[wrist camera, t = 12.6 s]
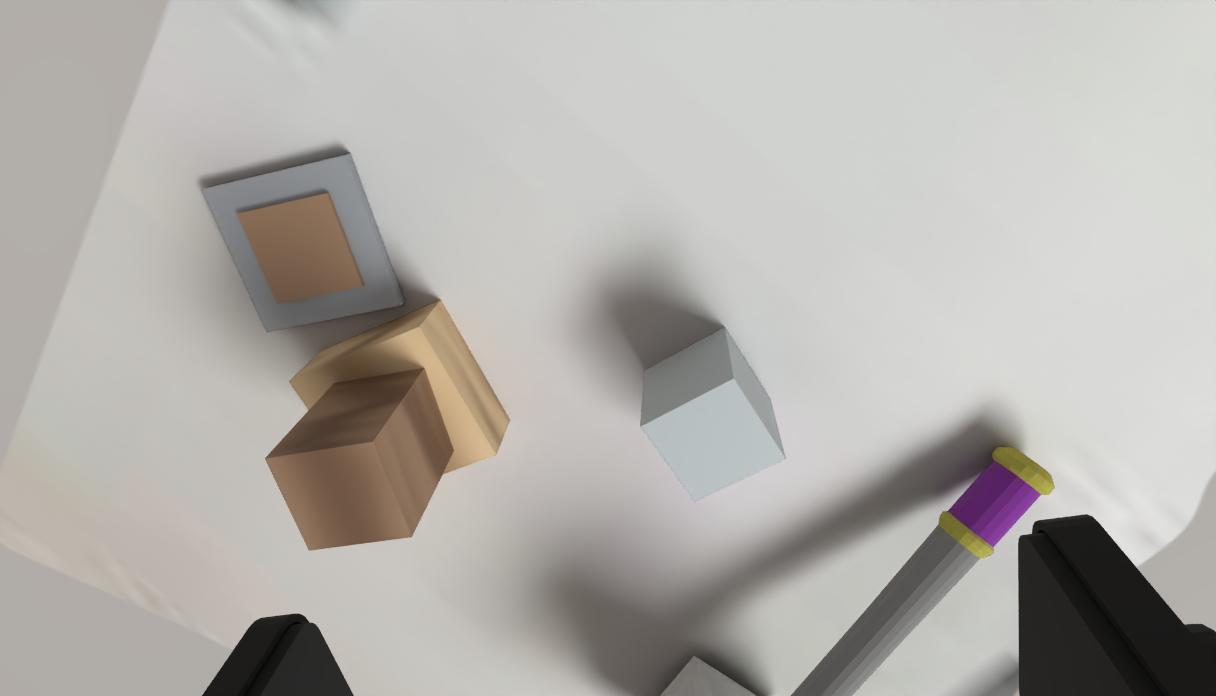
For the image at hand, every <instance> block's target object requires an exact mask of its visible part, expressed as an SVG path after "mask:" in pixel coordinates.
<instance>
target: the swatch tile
mask: <svg viewBox="0 0 1216 696" xmlns="http://www.w3.org/2000/svg"><path fill="white" fill-rule="evenodd" d="M202 193H203V195H204V197H205V199H206V201H207V203H208V206H209V208H210V210H211V212H212V214H213V217H214V219H215V221H216V223H217V225H218V228H219V230H220V232H221V234H222V236H223V238H224V241H225V243H226V245H227V247H228V249H229V252H230V254H231V256H232V258H233V260H234V263H235V265H236V267H237V269H238V271H239V273H240V276H241V278H242V280H243V282H244V284H245V287H246V289H247V291H248V293H249V295H250V298H251V300H252V302H253V304H254V306H255V308H256V311H257V313H258V315H259V317H260V319H261V322H262V324H263V326H264V328H265V330H266V332H270V331H275V330H280V329H285V328H290V327H295V326H300V325H306V324H311V323H316V322H321V321H326V320H331V319H336V318H341V317H346V316H351V315H356V314H361V313H366V312H371V311H376V310H381V309H386V308H391V307H396V306H401V305H402V304H403V303H404V302H405V301H404V298H403V295H402V293H401V290H400V287H399V284H398V282H397V279H396V276H395V274H394V271H393V268H392V265H391V263H390V260H389V257H388V255H387V252H386V249H385V246H384V244H383V241H382V238H381V235H380V233H379V230H378V227H377V225H376V222H375V219H374V216H373V214H372V211H371V208H370V205H369V203H368V200H367V197H366V195H365V192H364V189H363V186H362V184H361V181H360V178H359V176H358V173H357V170H356V167H355V165H354V162H353V159H352V156H351V154H350V153H349V154H345V155H340V156H336V157H332V158H328V159H324V160H320V161H315V162H311V163H307V164H303V165H299V166H295V167H290V168H286V169H282V170H278V171H274V172H270V173H265V174H261V175H257V176H253V177H249V178H244V179H240V180H236V181H232V182H228V183H224V184H219V185H215V186H211V187H207V188H205V189H202Z"/></svg>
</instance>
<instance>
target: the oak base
mask: <svg viewBox="0 0 1216 696" xmlns="http://www.w3.org/2000/svg"><path fill="white" fill-rule="evenodd" d="M420 368H425V370H426V373H427V376H428V379H429V382H430V384H431V387H432V390H433V393H434V396H435V398H436V401H437V404H438V407H439V410H440V412H441V415H442V418H443V421H444V424H445V426H446V429H447V432H448V435H449V438H450V441H451V443H452V446H453V449H454V452H453V454H452V456H451V458H450V460H449V462H448V464H447V466H446V468H445V470H444V473H443V474H445V473H447V472H450V471H453V470H456V469H458V468H461V467H464V466H467V465H470V464H472V463H475V462H478V461H481V460H483V459H486V458H489V457H492V456H495V455H496V454H497V452H498V449H499V447H500V444H501V442H502V439H503V437H504V434H505V431H506V429H507V426H508V424H509V421H510V419H509V417H508V416H507V414H506V412H505V410H504V409H503V407H502V405H501V403H500V402H499V400H498V398H497V396H496V395H495V393H494V391H493V390H492V388H491V386H490V384H489V383H488V381H487V379H486V377H485V376H484V374H483V372H482V370H481V369H480V367H479V365H478V363H477V362H476V360H475V358H474V357H473V355H472V353H471V351H470V350H469V348H468V346H467V344H466V343H465V341H464V339H463V337H462V336H461V334H460V332H459V331H458V329H457V327H456V325H455V324H454V322H453V320H452V318H451V317H450V315H449V313H448V311H447V310H446V308H445V306H444V304H443V303H442V301H441V300H439V301H437V302H435V303H432V304H430V305H428V306H425V307H423V308H421V309H418V310H416V311H414V312H411V313H409V314H407V315H404V316H402V317H400V318H397V319H395V320H393V321H390V322H388V323H386V324H383V325H381V326H379V327H376V328H374V329H372V330H369V331H367V332H365V333H362V334H360V335H358V336H355V337H353V338H351V339H348V340H346V341H344V342H341V343H339V344H337V345H334V346H332V347H330V348H327V349H325V350H323V351H320V352H319V353H318V354H317V355H316V356H315V357H314V358H313V359H312V360H311V361H310V362H309V363H308V364H307V365H306V366H305V367H304V368H303V369H301V370H300V371H299V372H298V373H297V374H296V375H295V376H294V377H293V378H292V379H291V380H290V381H289V383H290V384H291V385H292V387H293V388H294V390H295V391H296V393H297V394H298V395H299V397H300V398H301V400H302V401H303V403H304V404H305V406H306V407H307V408H308V410H310V409H311V408H312V406H313V405H314V404H315V403H316V402H317V401H318V400H319V399H320V398H321V397H322V396H323V394H324V393H325V392H326V391H327V390H328V389H329V388H330V387H331V386H332V385H333V383H337V382H343V381H349V380H355V379H361V378H367V377H373V376H379V375H385V374H390V373H396V372H402V371H408V370H414V369H420Z"/></svg>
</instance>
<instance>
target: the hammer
mask: <svg viewBox="0 0 1216 696" xmlns="http://www.w3.org/2000/svg"><path fill="white" fill-rule="evenodd" d="M992 457H993V461H992V462H991V463H990V464H989V465H988V466H987V468H986V469H985V470H984V471H983V472H982V473H981V474H980V476H979V477H978V478H977V479H976V480H975V481H974V482H973V483H972V485H971V486H970V487H969V488H968V489H967V490H966V491H965V492H964V494H963V495H962V496H961V497H960V498H959V499H958V500H957V501H956V503H955V504H954V505H953V506H952V507H951V508H950V509H949V510H948V511H944V512H942V514H941V515H940V518H939V525H938V526H937V527H936V528H935V530H934V531H933V532H932V533H931V534H930V535H929V537H928V538H927V539H926V540H925V541H924V542H923V544H922V545H921V546H920V547H919V548H918V549H917V551H916V552H915V553H914V554H913V555H912V556H911V558H910V559H909V560H908V561H907V562H906V564H905V565H904V566H903V567H902V568H901V569H900V571H899V572H898V573H897V574H896V575H895V576H894V578H893V579H892V580H891V581H890V582H889V583H888V585H887V586H886V587H885V588H884V589H883V591H882V592H881V593H880V594H879V595H878V596H877V598H876V599H875V600H874V601H873V602H872V603H871V605H870V606H869V607H868V608H867V609H866V610H865V612H864V613H863V614H862V615H861V616H860V617H859V618H858V620H857V621H856V622H855V623H854V624H853V625H852V626H851V628H850V629H849V630H848V631H847V632H846V633H845V634H844V636H843V637H842V638H841V639H840V640H839V641H838V642H837V644H836V645H835V646H834V647H833V648H832V649H831V650H830V652H829V653H828V654H827V655H826V656H825V657H824V658H823V660H822V661H821V662H820V663H819V664H818V665H817V666H816V668H815V669H814V670H813V671H812V672H811V673H810V674H809V676H808V677H807V678H806V679H805V680H804V681H803V682H802V684H801V685H800V686H799V687H798V688H797V689H796V690H795V692H794V693H793V694H792V695H791V696H852V695H853V694H854V693H855V692H856V691H857V690H858V689H859V688H860V686H861V685H862V684H863V683H864V682H865V681H866V680H867V679H868V678H869V677H870V676H871V674H872V673H873V672H874V671H875V670H876V669H877V668H878V667H879V666H880V665H881V664H882V662H883V661H884V660H885V659H886V658H887V657H888V656H889V655H890V654H891V653H892V652H893V650H894V649H895V648H896V647H897V646H898V645H899V644H900V643H901V642H902V641H903V640H904V639H905V638H906V637H907V635H908V634H909V633H910V632H911V631H912V630H913V629H914V628H915V627H916V626H917V625H918V624H919V623H920V622H921V621H922V620H923V619H924V617H925V616H926V615H927V614H928V613H929V612H930V611H931V610H932V609H933V608H934V607H935V606H936V605H937V604H938V603H939V602H940V601H941V599H942V598H943V597H944V596H945V595H946V594H947V593H948V592H949V591H950V590H951V589H952V588H953V587H954V586H955V585H956V584H957V582H958V581H959V580H960V579H961V578H962V577H963V576H964V575H965V574H966V573H967V572H968V571H969V570H970V569H971V568H972V567H973V566H974V564H975V563H976V562H977V561H978V560H979V559H980V558H984V557H987V556H990V555H991V554H992V553H993V552H994V549H993V547H994V546H995V545H996V544H997V543H998V541H999V540H1000V539H1001V538H1002V537H1003V536H1004V535H1005V534H1006V533H1007V532H1008V530H1009V529H1010V528H1011V527H1012V526H1013V525H1014V524H1015V523H1016V522H1017V521H1018V519H1019V518H1020V517H1021V516H1022V515H1023V514H1024V513H1025V512H1026V511H1027V510H1028V508H1029V507H1030V506H1031V505H1032V504H1033V503H1034V502H1035V501H1036V500H1037V498H1038V497H1039V496H1040V495H1049V494H1050V493H1051V492H1052V490H1053V489H1054V488H1055V487H1054V483H1053V480H1052V476H1051V475H1050V474H1049V473H1048V472H1047V471H1046V470H1045V469H1043V468H1042V467H1041V466H1040V465H1038V464H1037V463H1035V462H1034V461H1033V460H1031V459H1030V458H1028V457H1027V456H1026V455H1024V454H1022V453H1021V452H1019V451H1018V450H1016V449H1014V448H1012V447H997V448H996V449H995V451H994V452H993V453H992ZM660 696H756V695H755V694H753V693H752V692H750V691H749V690H747V689H745V688H744V687H742V686H741V685H739V684H738V683H736V682H734V681H733V680H731V679H730V678H728V677H727V676H725V675H724V674H722V673H720V672H719V671H717V670H716V669H714V668H713V667H711V666H709V665H708V664H706V663H705V662H703V661H702V660H700V659H698V658H697V657H695V656H693V658H692V659H691V660H690V661H689V662H688V663H687V665H686V666H685V667H684V668H683V669H682V670H681V672H680V673H679V674H678V675H677V676H676V677H675V679H674V680H673V681H672V682H671V683H670V684H669V686H668V687H667V688H666V689H665V690H664V692H663V693H662V694H661V695H660Z"/></svg>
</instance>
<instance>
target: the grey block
mask: <svg viewBox="0 0 1216 696" xmlns="http://www.w3.org/2000/svg"><path fill="white" fill-rule="evenodd" d="M640 427H641V429H642V430H643V431H644V433H645V434H646V436H647V437H648V438H649V440H650V441H651V443H652V444H653V445H654V447H655V448H656V450H657V451H658V452H659V454H660V455H661V457H662V458H663V459H664V461H665V462H666V464H667V465H668V466H669V468H670V469H671V471H672V472H673V473H674V475H675V476H676V478H677V479H678V480H679V482H680V483H681V484H682V486H683V487H684V489H685V490H686V491H687V493H688V494H689V496H690V497H691V498H692V500H693V501H694V502H696V501H698V500H700V499H702V498H704V497H706V496H708V495H711V494H713V493H715V492H717V491H719V490H721V489H723V488H725V487H728V486H730V485H732V484H734V483H736V482H738V481H740V480H742V479H745V478H747V477H749V476H751V475H753V474H755V473H757V472H759V471H762V470H764V469H766V468H768V467H770V466H772V465H774V464H776V463H779V462H781V461H783V460H785V459H786V458H785V454H784V450H783V446H782V442H781V438H780V434H779V431H778V427H777V423H776V419H775V415H774V411H773V407H772V403H771V399H770V397H769V396H768V394H767V393H766V391H765V389H764V388H763V386H762V385H761V383H760V382H759V380H758V378H757V377H756V375H755V374H754V372H753V370H752V369H751V367H750V366H749V364H748V362H747V361H746V359H745V358H744V356H743V355H742V353H741V351H740V350H739V348H738V347H737V345H736V343H735V342H734V340H733V339H732V337H731V336H730V334H729V332H728V331H727V329H726V328H725V327H724V328H722V329H720V330H718V331H716V332H715V333H713V334H711V335H709V336H707V337H705V338H703V339H702V340H700V341H698V342H696V343H694V344H692V345H691V346H689V347H687V348H685V349H683V350H681V351H680V352H678V353H676V354H674V355H672V356H670V357H669V358H667V359H665V360H663V361H661V362H659V363H657V364H656V365H654V366H652V367H650V368H648V369H646V370H645V371H644V383H643V397H642V410H641V423H640Z"/></svg>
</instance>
